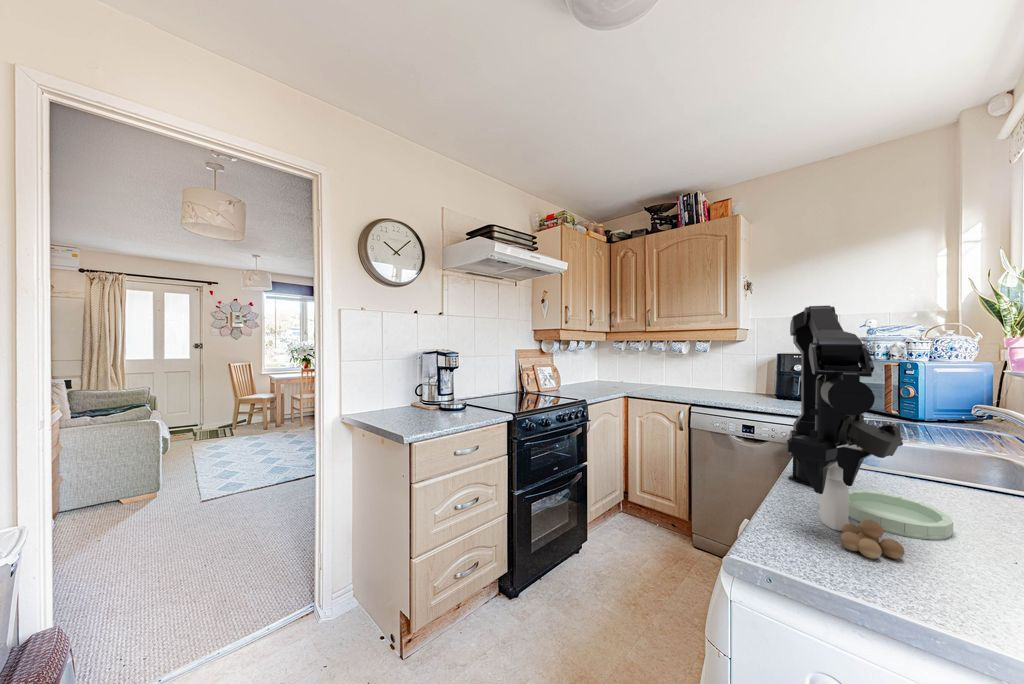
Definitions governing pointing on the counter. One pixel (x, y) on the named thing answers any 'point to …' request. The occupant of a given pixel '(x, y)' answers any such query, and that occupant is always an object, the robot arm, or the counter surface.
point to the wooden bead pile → (870, 540)
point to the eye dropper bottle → (834, 500)
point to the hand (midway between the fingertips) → (833, 489)
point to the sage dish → (900, 515)
